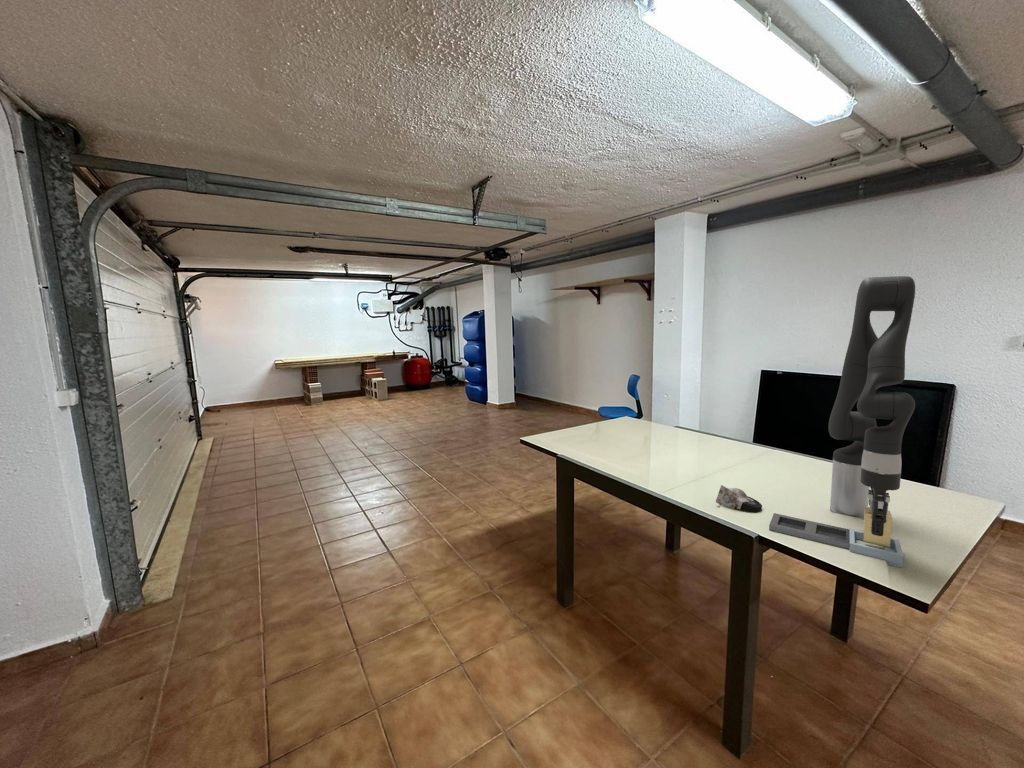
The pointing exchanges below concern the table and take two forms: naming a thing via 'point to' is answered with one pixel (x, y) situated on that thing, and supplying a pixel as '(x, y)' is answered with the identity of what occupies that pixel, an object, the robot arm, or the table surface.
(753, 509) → the camo sneaker
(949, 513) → the table surface
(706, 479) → the table surface
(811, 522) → the grey slotted tray
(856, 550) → the parts tray
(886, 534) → the tan wooden block
